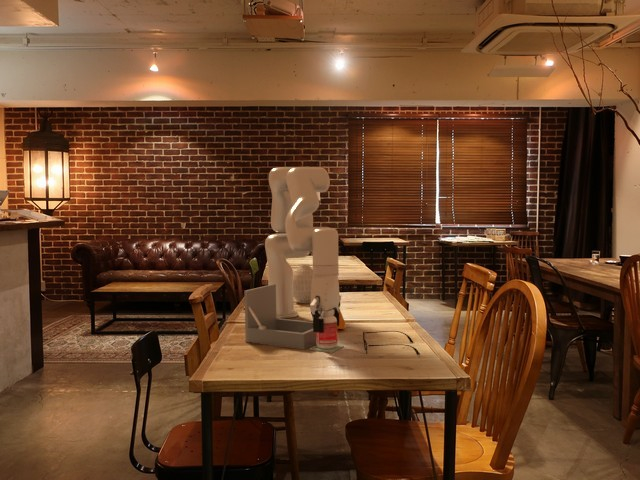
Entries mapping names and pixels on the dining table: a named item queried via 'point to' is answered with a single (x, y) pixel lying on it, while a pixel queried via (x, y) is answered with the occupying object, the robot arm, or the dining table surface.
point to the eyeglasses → (388, 344)
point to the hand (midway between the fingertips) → (326, 328)
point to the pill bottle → (328, 331)
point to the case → (273, 322)
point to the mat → (327, 349)
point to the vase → (302, 283)
